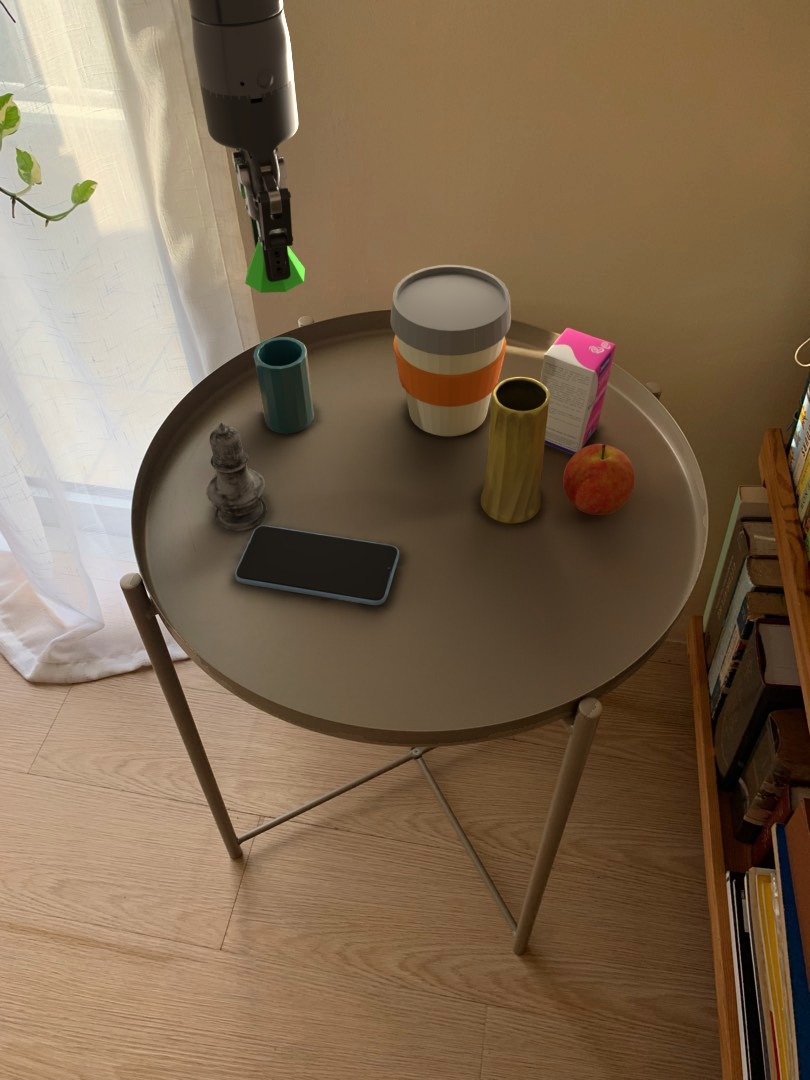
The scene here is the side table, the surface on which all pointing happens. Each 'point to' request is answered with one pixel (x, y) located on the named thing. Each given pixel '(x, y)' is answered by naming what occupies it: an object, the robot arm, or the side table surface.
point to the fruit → (598, 479)
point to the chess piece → (234, 483)
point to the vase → (515, 450)
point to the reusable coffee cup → (449, 344)
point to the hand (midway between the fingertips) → (272, 263)
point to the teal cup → (284, 384)
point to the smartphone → (318, 565)
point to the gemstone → (259, 279)
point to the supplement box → (575, 388)
